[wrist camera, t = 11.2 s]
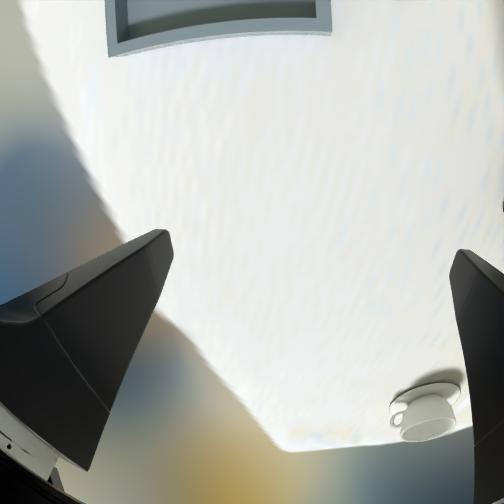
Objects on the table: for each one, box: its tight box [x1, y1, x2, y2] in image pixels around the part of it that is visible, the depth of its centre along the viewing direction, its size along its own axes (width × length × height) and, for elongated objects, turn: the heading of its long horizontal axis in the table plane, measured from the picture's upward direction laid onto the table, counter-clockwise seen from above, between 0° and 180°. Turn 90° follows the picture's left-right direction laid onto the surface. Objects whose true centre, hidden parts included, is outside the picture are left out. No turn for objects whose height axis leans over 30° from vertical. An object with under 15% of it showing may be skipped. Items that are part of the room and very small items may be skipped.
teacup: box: [389, 383, 460, 442], centre depth 30 cm, size 10×10×5 cm
